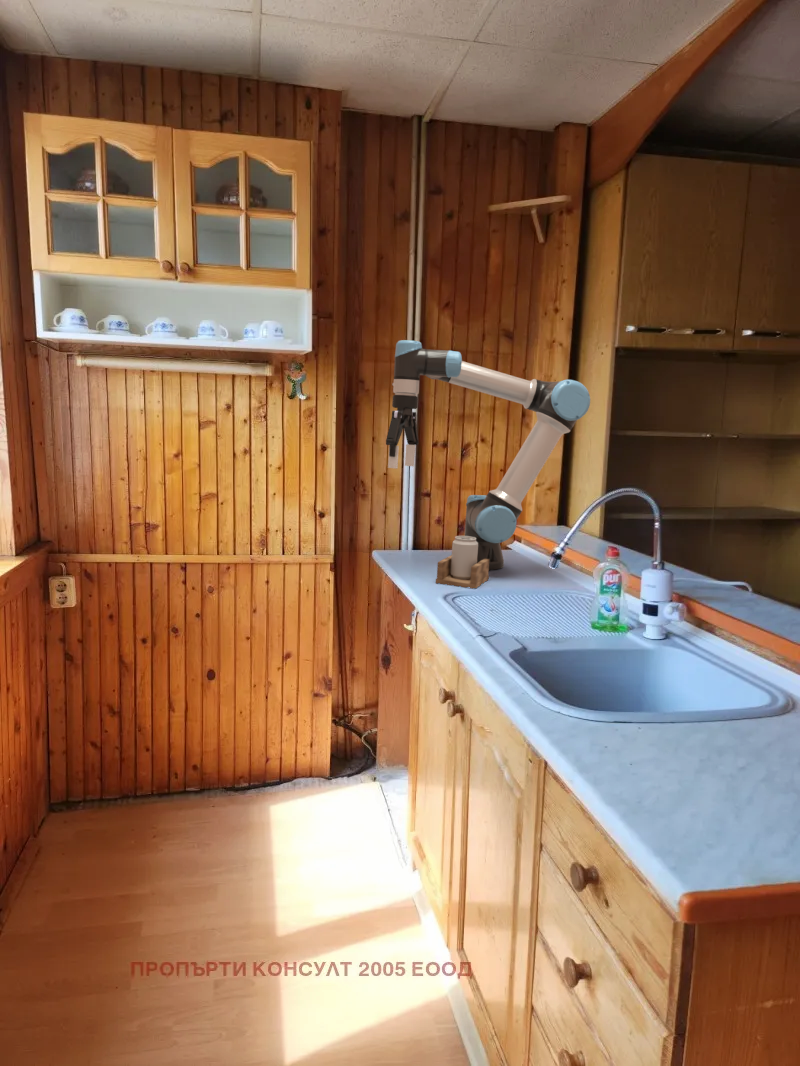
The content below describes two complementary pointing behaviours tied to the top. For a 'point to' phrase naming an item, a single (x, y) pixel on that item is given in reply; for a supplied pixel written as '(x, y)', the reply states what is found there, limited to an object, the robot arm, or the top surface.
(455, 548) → the can
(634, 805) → the top surface
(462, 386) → the robot arm
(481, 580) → the rack
